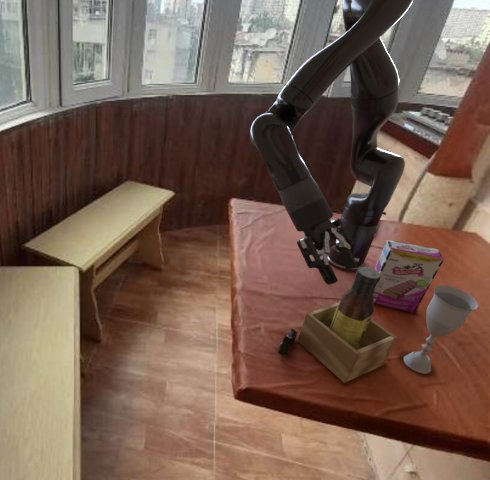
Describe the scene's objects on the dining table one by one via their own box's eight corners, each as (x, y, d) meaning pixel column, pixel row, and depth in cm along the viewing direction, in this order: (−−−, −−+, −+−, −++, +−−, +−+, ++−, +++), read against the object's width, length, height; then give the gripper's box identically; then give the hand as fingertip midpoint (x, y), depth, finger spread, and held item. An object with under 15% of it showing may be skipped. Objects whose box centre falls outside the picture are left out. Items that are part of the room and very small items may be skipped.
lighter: (280, 347, 93) (289, 326, 93) (290, 352, 92) (298, 330, 92) (274, 351, 86) (284, 328, 86) (284, 356, 85) (294, 333, 85)
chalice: (391, 351, 90) (425, 285, 81) (420, 350, 91) (457, 284, 82) (413, 378, 84) (453, 310, 75) (444, 377, 85) (487, 309, 75)
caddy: (334, 326, 97) (344, 299, 92) (383, 365, 87) (397, 337, 83) (297, 340, 92) (306, 313, 88) (344, 383, 82) (357, 354, 78)
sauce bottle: (358, 362, 86) (394, 286, 76) (326, 357, 87) (357, 281, 77) (350, 340, 91) (382, 266, 81) (320, 335, 92) (348, 261, 82)
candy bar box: (366, 303, 104) (389, 248, 96) (363, 292, 108) (385, 238, 100) (416, 314, 101) (445, 259, 93) (411, 302, 105) (438, 248, 97)
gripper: (302, 206, 78) (343, 284, 76) (337, 187, 86) (376, 258, 84) (271, 220, 84) (309, 292, 82) (307, 201, 92) (342, 267, 90)
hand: (342, 275), depth 83 cm, fingers open, 8 cm apart
